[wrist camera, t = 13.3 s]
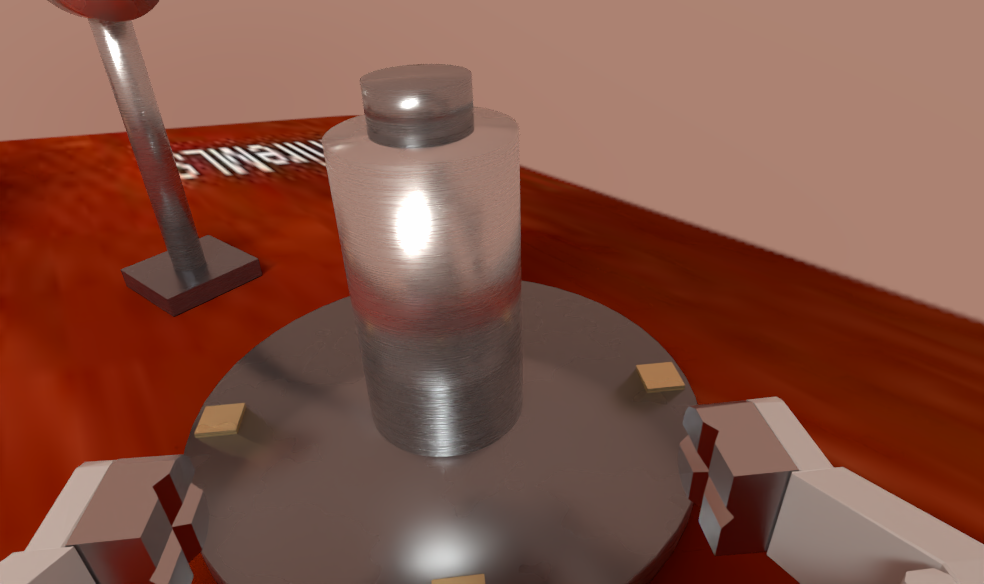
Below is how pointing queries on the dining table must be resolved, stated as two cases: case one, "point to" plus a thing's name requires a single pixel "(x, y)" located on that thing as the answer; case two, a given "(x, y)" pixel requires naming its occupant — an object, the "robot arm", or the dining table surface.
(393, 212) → the capped metal canister
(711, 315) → the dining table surface
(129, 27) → the metal joystick
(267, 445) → the disc
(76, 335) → the dining table surface
